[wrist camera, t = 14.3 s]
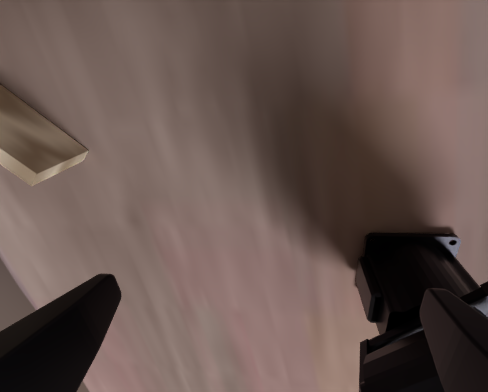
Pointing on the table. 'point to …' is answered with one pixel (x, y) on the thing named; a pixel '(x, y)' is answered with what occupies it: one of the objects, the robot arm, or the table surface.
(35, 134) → the tray
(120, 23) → the table surface
